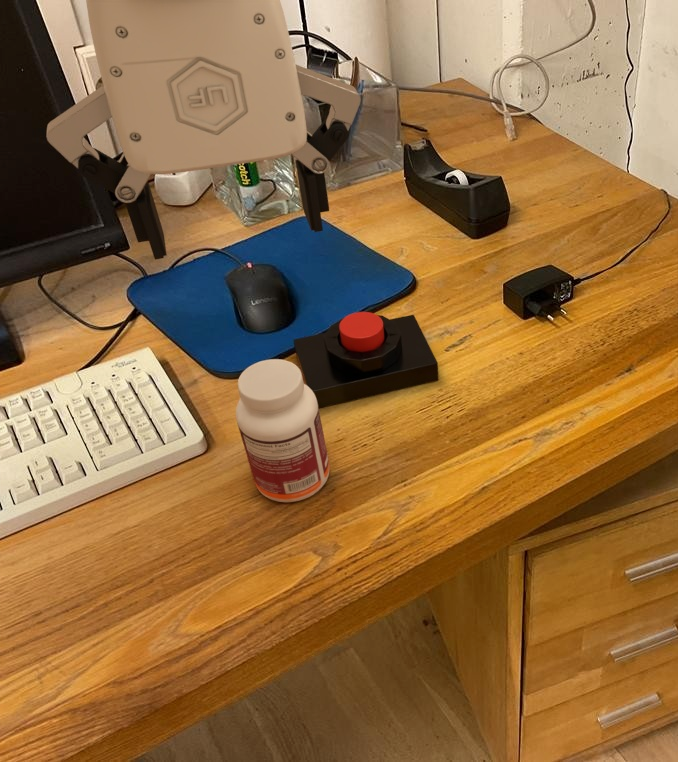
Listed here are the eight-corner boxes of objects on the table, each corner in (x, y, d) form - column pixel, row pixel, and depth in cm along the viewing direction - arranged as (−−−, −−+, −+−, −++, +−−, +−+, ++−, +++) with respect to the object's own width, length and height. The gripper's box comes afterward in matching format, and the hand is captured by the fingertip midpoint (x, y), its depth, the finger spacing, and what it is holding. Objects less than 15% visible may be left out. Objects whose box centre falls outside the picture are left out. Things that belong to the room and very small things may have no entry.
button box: (312, 410, 74) (306, 377, 71) (296, 356, 79) (290, 324, 76) (438, 380, 77) (437, 347, 74) (414, 331, 82) (412, 299, 80)
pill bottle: (280, 442, 70) (257, 343, 63) (344, 460, 69) (327, 362, 62) (239, 493, 66) (209, 394, 59) (306, 514, 64) (284, 415, 57)
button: (346, 356, 74) (344, 341, 72) (337, 331, 76) (334, 316, 75) (389, 347, 75) (387, 332, 74) (378, 322, 78) (376, 307, 76)
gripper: (-29, -27, 36) (94, 292, 47) (358, -55, 41) (384, 240, 52) (-15, -68, 41) (93, 228, 52) (327, -88, 46) (357, 186, 57)
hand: (238, 234), depth 52 cm, fingers open, 9 cm apart
